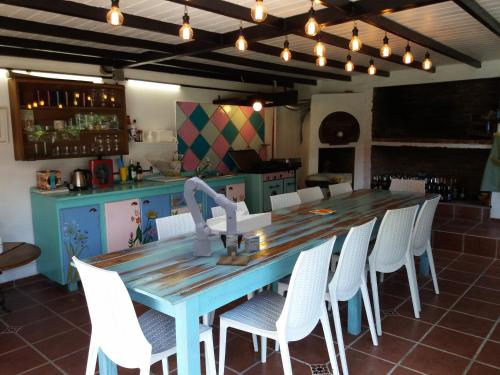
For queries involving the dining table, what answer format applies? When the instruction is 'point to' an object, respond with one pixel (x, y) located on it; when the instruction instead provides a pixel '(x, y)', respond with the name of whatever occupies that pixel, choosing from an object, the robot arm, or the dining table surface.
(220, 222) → the white long open box
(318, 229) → the dining table surface
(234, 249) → the cap
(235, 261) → the post board
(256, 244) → the medicine box
